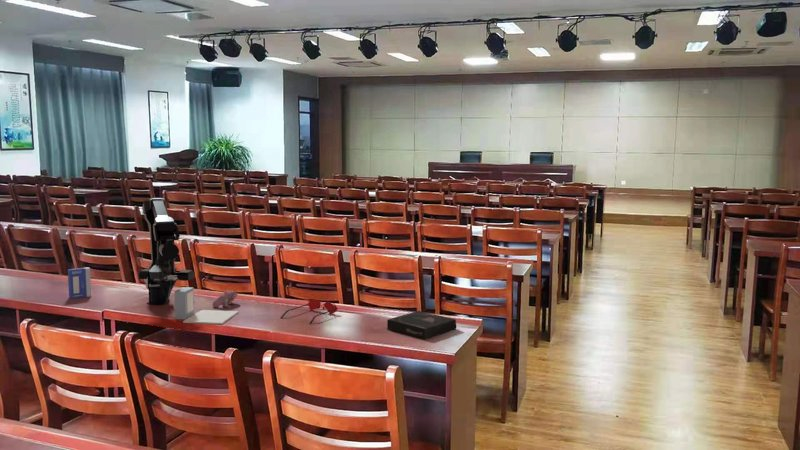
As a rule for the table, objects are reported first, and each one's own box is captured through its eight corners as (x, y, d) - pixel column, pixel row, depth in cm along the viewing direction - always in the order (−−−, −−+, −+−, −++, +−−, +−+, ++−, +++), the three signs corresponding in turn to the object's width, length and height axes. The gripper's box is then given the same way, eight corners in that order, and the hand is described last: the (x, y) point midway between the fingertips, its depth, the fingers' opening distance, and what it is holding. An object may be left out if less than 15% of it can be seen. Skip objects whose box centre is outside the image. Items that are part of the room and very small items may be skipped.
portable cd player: (456, 330, 214) (456, 319, 213) (424, 341, 201) (424, 329, 201) (419, 321, 225) (419, 310, 224) (387, 331, 212) (387, 319, 212)
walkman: (71, 299, 249) (69, 269, 247) (69, 298, 251) (67, 268, 249) (92, 296, 254) (90, 267, 253) (89, 295, 256) (88, 266, 255)
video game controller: (219, 312, 238) (226, 297, 236) (210, 306, 239) (217, 290, 237) (234, 306, 247) (241, 291, 245) (225, 300, 248) (232, 285, 246)
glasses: (338, 315, 231) (338, 302, 231) (309, 325, 217) (309, 311, 217) (309, 310, 239) (309, 297, 238) (279, 319, 225) (279, 305, 224)
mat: (182, 322, 217) (182, 321, 217) (202, 311, 233) (201, 309, 233) (221, 324, 216) (221, 322, 216) (238, 312, 232) (238, 311, 232)
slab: (175, 318, 222) (174, 291, 221) (183, 313, 229) (183, 287, 228) (186, 319, 222) (185, 291, 220) (194, 314, 229) (194, 287, 227)
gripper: (129, 258, 216) (130, 302, 218) (180, 259, 214) (182, 304, 216) (145, 253, 227) (146, 295, 229) (194, 254, 226) (195, 297, 227)
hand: (167, 298), depth 225 cm, fingers closed
